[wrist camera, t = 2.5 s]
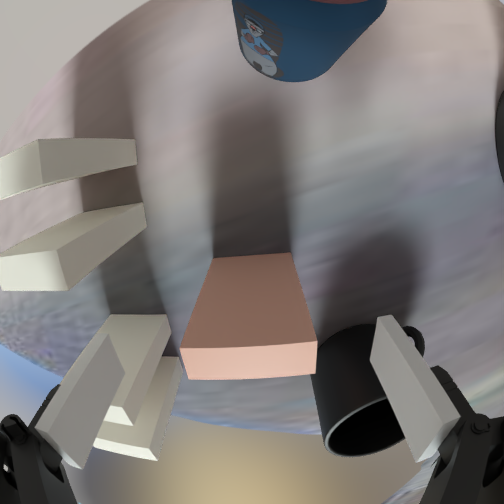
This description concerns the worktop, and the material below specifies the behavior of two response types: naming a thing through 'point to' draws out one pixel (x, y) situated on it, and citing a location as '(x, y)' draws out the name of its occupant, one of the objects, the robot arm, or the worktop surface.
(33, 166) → the domino
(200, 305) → the domino
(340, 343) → the mug
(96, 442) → the domino
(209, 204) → the worktop surface
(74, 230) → the domino
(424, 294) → the worktop surface
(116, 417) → the domino
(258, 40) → the soda can
